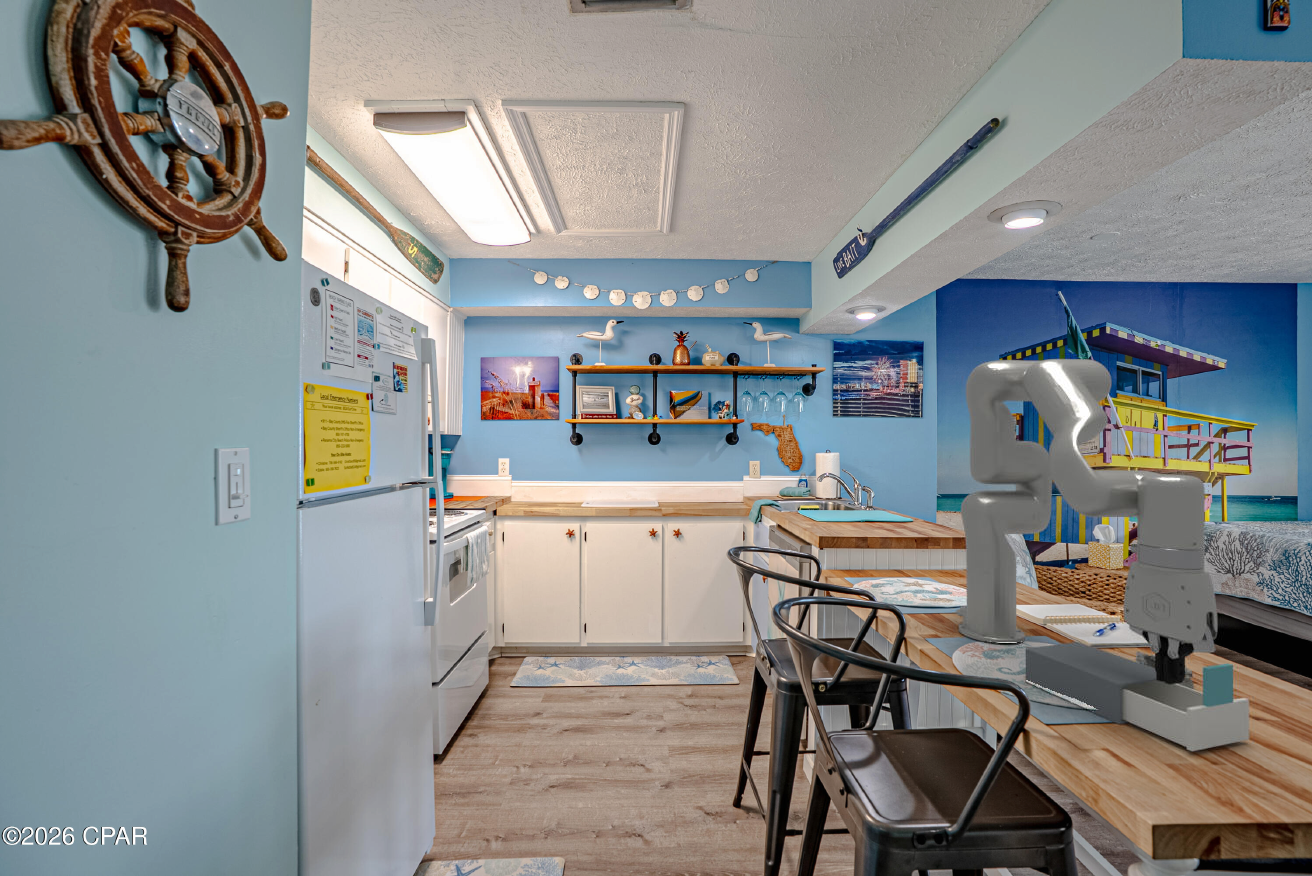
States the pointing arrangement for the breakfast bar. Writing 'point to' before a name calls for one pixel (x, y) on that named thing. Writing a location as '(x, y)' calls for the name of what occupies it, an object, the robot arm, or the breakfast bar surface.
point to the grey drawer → (1190, 710)
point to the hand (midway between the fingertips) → (1169, 680)
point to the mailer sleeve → (1086, 675)
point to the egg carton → (1150, 662)
